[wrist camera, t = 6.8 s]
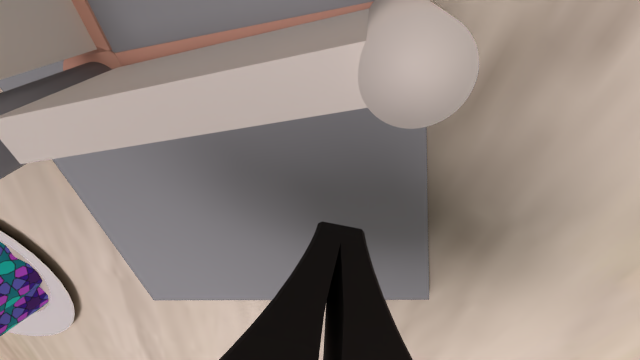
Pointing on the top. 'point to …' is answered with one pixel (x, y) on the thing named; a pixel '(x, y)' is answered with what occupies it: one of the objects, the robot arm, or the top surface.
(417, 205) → the card
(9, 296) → the pudding
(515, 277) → the top surface
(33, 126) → the fence gate
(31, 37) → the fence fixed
